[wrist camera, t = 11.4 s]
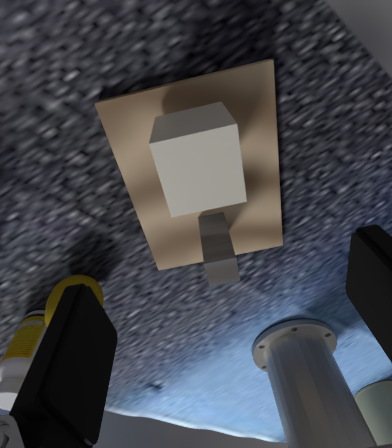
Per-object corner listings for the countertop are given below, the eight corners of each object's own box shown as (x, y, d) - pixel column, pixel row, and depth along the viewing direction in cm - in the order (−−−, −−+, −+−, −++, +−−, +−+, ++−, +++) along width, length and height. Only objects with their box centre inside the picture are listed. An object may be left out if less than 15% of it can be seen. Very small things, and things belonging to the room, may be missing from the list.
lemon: (77, 252, 32) (51, 310, 25) (118, 276, 34) (105, 335, 27) (51, 279, 33) (20, 340, 27) (91, 301, 36) (73, 361, 29)
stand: (279, 238, 32) (307, 293, 25) (159, 263, 33) (155, 322, 26) (269, 58, 22) (310, 69, 16) (97, 100, 23) (66, 127, 16)
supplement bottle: (16, 324, 37) (-28, 405, 29) (36, 302, 35) (-6, 382, 27) (55, 339, 40) (25, 418, 31) (75, 319, 38) (48, 398, 29)
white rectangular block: (230, 164, 25) (246, 201, 19) (172, 177, 25) (171, 217, 19) (221, 101, 22) (237, 123, 16) (155, 116, 22) (148, 144, 17)
